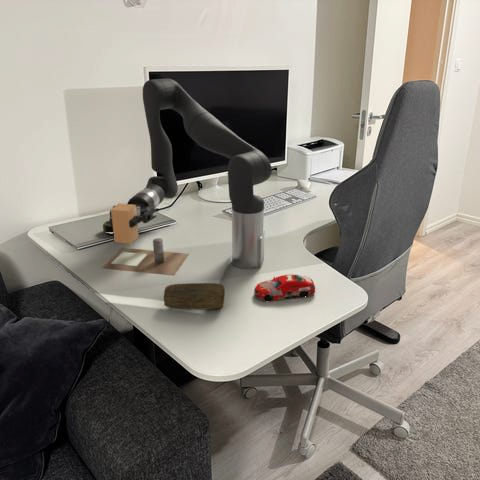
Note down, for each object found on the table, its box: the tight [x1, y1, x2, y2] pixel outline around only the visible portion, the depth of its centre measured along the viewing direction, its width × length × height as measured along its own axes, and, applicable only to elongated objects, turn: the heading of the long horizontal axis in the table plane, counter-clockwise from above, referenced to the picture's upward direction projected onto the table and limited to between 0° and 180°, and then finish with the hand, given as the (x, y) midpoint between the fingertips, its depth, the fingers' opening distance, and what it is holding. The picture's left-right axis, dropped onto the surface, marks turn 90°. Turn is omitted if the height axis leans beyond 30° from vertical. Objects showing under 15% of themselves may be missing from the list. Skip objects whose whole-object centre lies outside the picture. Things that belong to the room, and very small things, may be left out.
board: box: [101, 237, 190, 276], centre depth 135 cm, size 22×14×8 cm, turn 78°
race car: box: [253, 274, 316, 303], centre depth 121 cm, size 16×7×5 cm, turn 100°
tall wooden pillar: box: [110, 203, 140, 244], centre depth 133 cm, size 5×5×10 cm
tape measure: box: [102, 220, 113, 233], centre depth 159 cm, size 7×7×4 cm
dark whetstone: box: [163, 282, 226, 310], centre depth 115 cm, size 15×7×7 cm, turn 92°
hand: (121, 223), depth 130 cm, fingers closed on tall wooden pillar, 5 cm apart
